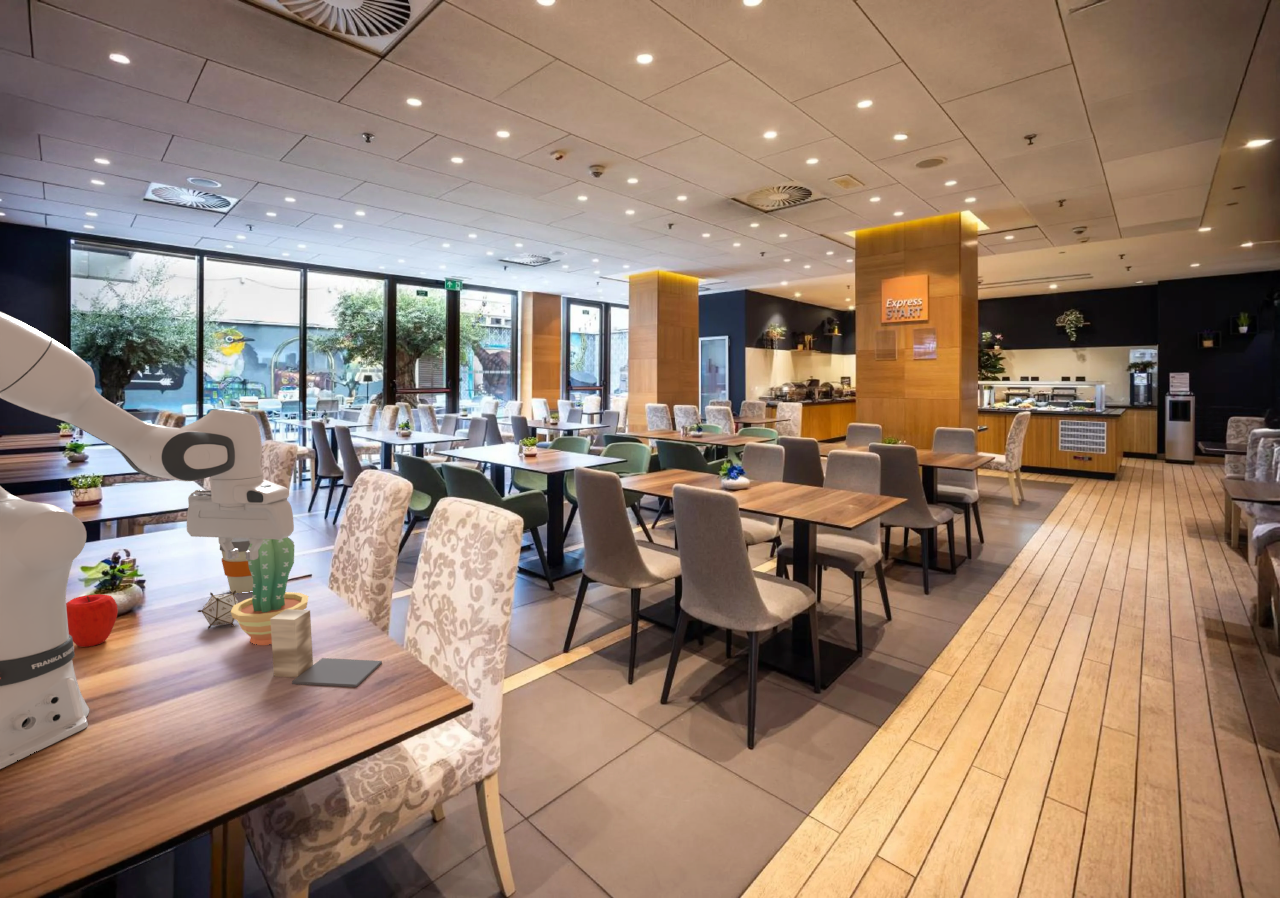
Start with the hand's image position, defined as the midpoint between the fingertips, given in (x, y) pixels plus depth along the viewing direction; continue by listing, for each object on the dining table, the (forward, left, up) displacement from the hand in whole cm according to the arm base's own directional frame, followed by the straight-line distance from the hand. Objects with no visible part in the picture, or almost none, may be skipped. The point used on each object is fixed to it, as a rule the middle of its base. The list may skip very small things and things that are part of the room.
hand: (242, 558), depth 122 cm
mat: (0, -19, -23) cm, 30 cm away
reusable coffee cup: (+45, +33, -23) cm, 61 cm away
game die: (+20, +21, -23) cm, 38 cm away
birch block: (0, -10, -23) cm, 25 cm away
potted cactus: (+15, +5, -23) cm, 28 cm away
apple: (+8, +42, -23) cm, 49 cm away
